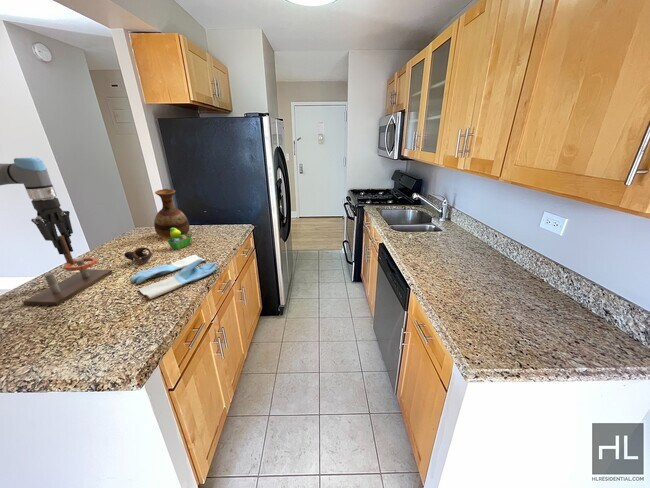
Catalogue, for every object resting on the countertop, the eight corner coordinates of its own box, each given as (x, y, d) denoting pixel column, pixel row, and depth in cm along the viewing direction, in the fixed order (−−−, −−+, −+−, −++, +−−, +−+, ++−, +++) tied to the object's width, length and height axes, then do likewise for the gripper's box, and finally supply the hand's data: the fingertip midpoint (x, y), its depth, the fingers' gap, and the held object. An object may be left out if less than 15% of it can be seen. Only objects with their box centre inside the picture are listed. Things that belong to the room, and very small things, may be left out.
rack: (24, 304, 98) (13, 282, 95) (86, 272, 122) (78, 253, 119) (57, 305, 98) (47, 283, 94) (112, 272, 122) (106, 254, 118)
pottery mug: (153, 256, 140) (153, 245, 135) (151, 269, 134) (151, 259, 129) (126, 254, 134) (125, 244, 129) (122, 269, 129) (121, 258, 123)
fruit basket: (177, 250, 146) (173, 231, 142) (166, 248, 149) (161, 230, 145) (193, 243, 156) (190, 226, 152) (183, 241, 159) (179, 224, 155)
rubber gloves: (124, 279, 116) (120, 266, 114) (195, 255, 140) (193, 244, 138) (150, 300, 101) (145, 286, 98) (224, 269, 125) (222, 257, 122)
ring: (56, 270, 109) (43, 240, 104) (80, 259, 119) (69, 231, 114) (82, 271, 108) (70, 241, 103) (104, 260, 118) (94, 232, 113)
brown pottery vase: (156, 242, 158) (144, 193, 147) (157, 232, 174) (146, 188, 163) (192, 236, 167) (182, 190, 156) (189, 228, 183) (180, 185, 172)
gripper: (32, 202, 95) (57, 260, 104) (71, 194, 110) (90, 246, 118) (13, 202, 96) (39, 260, 105) (54, 194, 110) (74, 245, 119)
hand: (66, 252), depth 111 cm, fingers closed on ring, 2 cm apart
